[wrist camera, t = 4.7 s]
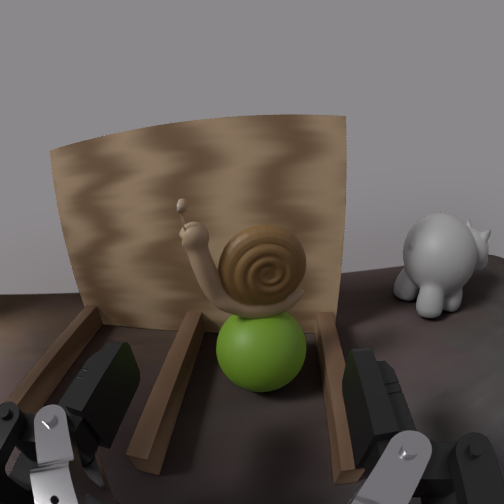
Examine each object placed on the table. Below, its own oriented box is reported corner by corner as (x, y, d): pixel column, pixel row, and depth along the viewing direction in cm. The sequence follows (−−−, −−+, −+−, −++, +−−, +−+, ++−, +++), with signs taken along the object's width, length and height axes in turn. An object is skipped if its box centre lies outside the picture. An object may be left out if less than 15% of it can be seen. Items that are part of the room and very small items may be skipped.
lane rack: (16, 420, 12) (-85, 191, 6) (97, 313, 25) (60, 148, 19) (364, 480, 10) (478, 92, 4) (331, 321, 23) (340, 117, 17)
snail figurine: (204, 358, 20) (179, 190, 15) (290, 346, 21) (292, 181, 16) (209, 417, 15) (169, 215, 10) (314, 399, 16) (333, 201, 11)
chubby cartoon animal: (499, 303, 22) (520, 224, 18) (422, 332, 20) (446, 230, 17) (459, 273, 29) (472, 203, 25) (381, 290, 27) (392, 204, 24)
